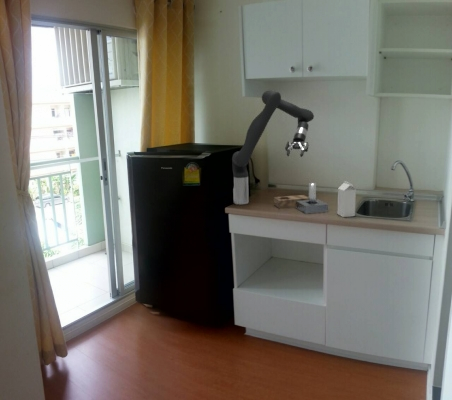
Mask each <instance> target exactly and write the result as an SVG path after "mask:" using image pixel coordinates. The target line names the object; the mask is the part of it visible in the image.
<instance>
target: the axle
mask: <svg viewBox="0 0 452 400" xmlns="http://www.w3.org/2000/svg"><path fill="white" fill-rule="evenodd" d="M308 197H309V204H316V198H317V182H309V183H308Z"/></svg>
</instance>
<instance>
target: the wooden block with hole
mask: <svg viewBox="0 0 452 400" xmlns="http://www.w3.org/2000/svg"><path fill="white" fill-rule="evenodd" d="M301 200H309V196H307V195H305V194H300V195H299V194H298V195H285V196H284V195H283V196H273V206H275V207H276V208H277V209H279V210H281V209H292V208H296V201H301Z"/></svg>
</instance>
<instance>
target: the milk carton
mask: <svg viewBox="0 0 452 400" xmlns="http://www.w3.org/2000/svg"><path fill="white" fill-rule="evenodd" d="M356 196H357V189H356V188H354V186H353V184H352V183H351V182H349V181H346V180H343V183H341V185H340V186H339V187H338V188H337V212H336V213H337V215H339V216H341V217H342V218H347V217H356V198H357V197H356Z"/></svg>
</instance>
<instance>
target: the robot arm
mask: <svg viewBox="0 0 452 400" xmlns="http://www.w3.org/2000/svg"><path fill="white" fill-rule="evenodd" d="M261 101H262V103H263V104H264V107H263V109H262V111H260V113H259V114H258V115H257V116H255V118H254V119H253V120H252V121H251V123H250V125H249V126H248V129H247V132H246V136H245V139H244V143H243V145H242V147H241V149H240V150H239V151H236V152H234V153H233V154H232V158H231V161H232V164H231V165H232V166H231V167H232V173H233V189H232V193H233V194H232V195H233V197H232V198H233V204H235V205H247V204H249V172H248V169H247V165H248V164H249V163H250V160H251V158H252V155H253V152H254V150H255V148H256V146H257V144H258V142H259V140H260V139H261V137H262V135H263V133H264V132H265V130H266V128H267V125H268V123H270V119H271V118H272V116H273V114H274V113H275V111H276V109H278V110H280V111H282V112H283V113H286V114H288V115H289V116H291V117H293V118H294V119H297V127H296V130H295V132H294V136H293V139H292V141H291V142H290V141H287V142H286V145H285V146H284V147H285V148H284V149H285V151H286V153H285V154H286V156H287V157H289V156H290V154H291V151H294V150H301V151H300V154H299V155H300V157H301V158H303V157H304V154H305V152H306V153H307V152H308V151H309V146H310V145H309V141H308V142H306V139H307V135H308V131H309V124H308V123H309V122H311V121H313V120H314V117H315V115H314V113H313V111H311V109H310V110H309V109H308V108H302V107H300V106H297V105H295V104H294V103H292V102H289V101H286V100H284V99H282V95H281V93H280V92H279V91H276V90H265V91H264V92H263V93H262V95H261ZM304 146H305V147H304Z"/></svg>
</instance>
